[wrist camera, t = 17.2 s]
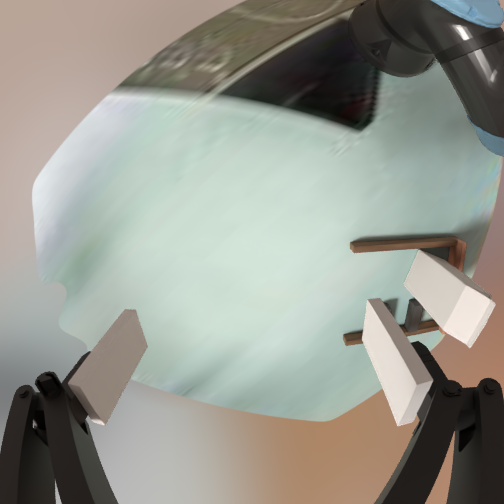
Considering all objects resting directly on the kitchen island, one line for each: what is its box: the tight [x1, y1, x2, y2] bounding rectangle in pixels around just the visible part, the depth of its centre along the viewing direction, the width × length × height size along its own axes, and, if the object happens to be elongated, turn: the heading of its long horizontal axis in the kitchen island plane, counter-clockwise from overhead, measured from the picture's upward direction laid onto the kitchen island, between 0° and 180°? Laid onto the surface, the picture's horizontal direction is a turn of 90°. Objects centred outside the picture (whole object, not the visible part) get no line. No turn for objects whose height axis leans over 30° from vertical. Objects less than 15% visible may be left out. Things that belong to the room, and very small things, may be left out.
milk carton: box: [403, 249, 496, 348], centre depth 34 cm, size 7×7×19 cm
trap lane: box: [343, 237, 467, 346], centre depth 43 cm, size 19×22×4 cm
